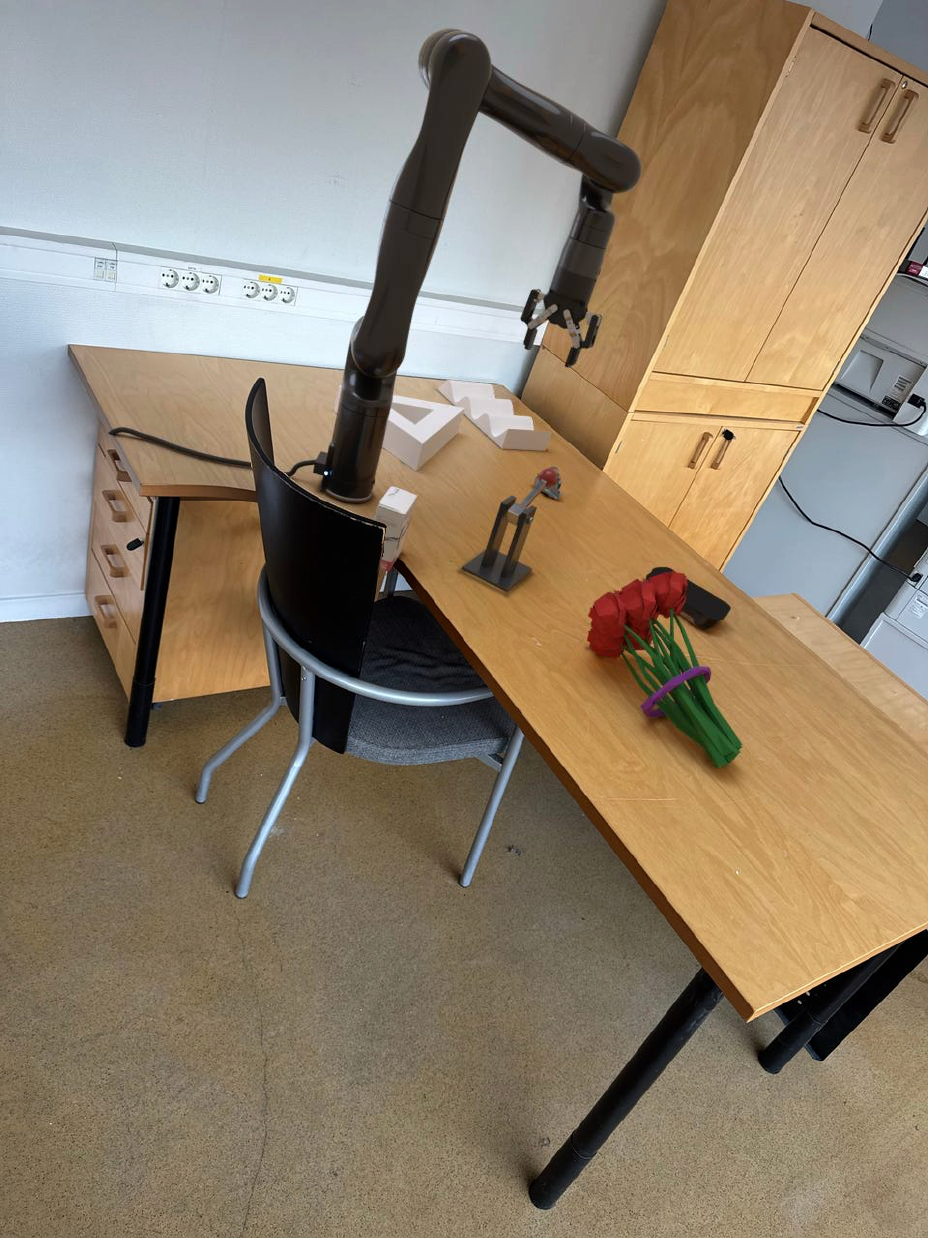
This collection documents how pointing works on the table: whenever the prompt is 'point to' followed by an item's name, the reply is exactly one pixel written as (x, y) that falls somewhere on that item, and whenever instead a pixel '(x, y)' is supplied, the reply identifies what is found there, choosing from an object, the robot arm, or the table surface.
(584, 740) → the table surface
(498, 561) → the bracket
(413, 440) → the triangle block
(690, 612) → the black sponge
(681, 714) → the bouquet
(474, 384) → the file organizer
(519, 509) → the lever
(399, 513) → the ink box
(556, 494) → the crumpled paper
